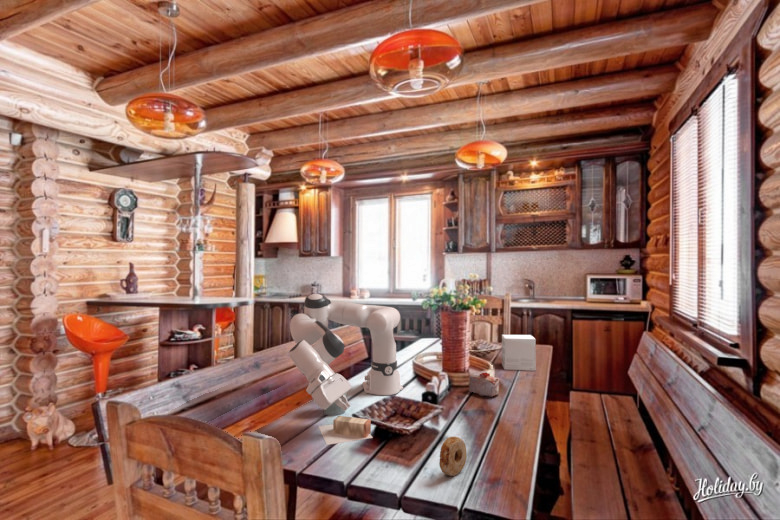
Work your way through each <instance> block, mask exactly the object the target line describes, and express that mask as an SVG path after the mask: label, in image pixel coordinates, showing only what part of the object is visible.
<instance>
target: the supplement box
mask: <svg viewBox="0 0 780 520" xmlns="http://www.w3.org/2000/svg"><path fill="white" fill-rule="evenodd" d="M536 341H537V339H536V338H535V337H534V336H533V335H532V334H501V366H502V367H503V369H504V370H508V371H510V370H511V371H529V372H531V371H533V372H534V371H536V370H537V366H536V364H537V357H536V355H537V354H536V353H537V351H536V347H537V345H536Z"/></svg>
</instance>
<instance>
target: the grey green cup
mask: <svg viewBox="0 0 780 520" xmlns="http://www.w3.org/2000/svg"><path fill="white" fill-rule="evenodd" d="M345 396H346V397H347V393H346V394H345ZM345 413H346V410H345V411H344V410H343V409H342V408H341V407H339V406H337V405H336V404H335V403H333V404H332V405H331V406H329V407H328V408H327V409H326V410H324V409H323V414H324V415H325V416H329V417H336V416H337V417H338V416H343V414H345Z"/></svg>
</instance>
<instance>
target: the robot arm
mask: <svg viewBox="0 0 780 520" xmlns="http://www.w3.org/2000/svg"><path fill="white" fill-rule="evenodd" d="M303 303H304V305H303V306H304V310H303V311H304V313H300V312H299V313H297V314H294V315H293V317H292V318H291V319H290V322H289V323H290V324H289V325H290V326H289V330H290V334H291V335H290V336H291V338H292V341H294V342H295V345H294V346H293V347H292V348H291V349H290V350H288V351H289V353H288V356H289V358H290V359H291V361H292V362H293V364H294V365H295V366H296V368H297V369H298V371H299V372H300V373H301V374H302V375H303V376H305V377H306V380H307V381H308V382H309V383H308V386H307V388H306V389H305V391H306V393H307V394H308V395H311V398H312V399H313V401H314V402H315V403H316V404H317V405H318V407H320V408H321V409H323V411H324V410H326V409H327V408H328V407H329V406H331V405H332V404H333V403H335V404H336V405H337V406H339V407H341V408H342V409H343V410H344V411H345V412H346V411H347V410H348V409H349V408H350V407H351V403H349V401H348V399H347V393H348V392H349V391H350V390H351V389H352V385H351V383H350V382H349V381H348V380H347V379H346V378H345V377H344V376H343V375H341V374H340V373H337V372H335V371H334V370H333V369H332V368H331V367H330V366H329V365H330V364H331V363H332V362H334V361H335V360H336V359H337V358H338V357H340V356H341V355H342V354H344V351H345V343H344V340H343V339H342V338H341V336H339V335H338V334H336V333H334V332H333V331H332V330H330V329H329V326H328V325H329V321H331V322H334V323H336V324H341V325H345V326H350V327H356V328H367V329H368V330H369V332H370V337H371V338H370V339H371V342H372V361H371V366H370V369H369V371H368V372H367V374H366V375H364V381H363V382H362V384H361V385H362V388H363V390H364V393H365V394H371V395H376V396H391V395H396V394H398V393H399V392H401V391H402V390H403V389H404V386H402V385H401V373H400V371H399V370H398V360H397V343H396V341H395V338H394V329H395V328H396V327H398V325H399V323H400V322H401V313H400V311H399V310H398V309H396V308H395V307H392V306H387V305H386V306H384V305H375V304H363V303H362V304H361V303H357V302H356V303H355V302H351V301H350V302H349V301H339V300H337V301H336V300H335V301H331V300H330V299H329V298H327V296H325V295H323V294H322V293H311V294H309V295H307V296H306V297H305V299H304V302H303ZM345 394H346V396H345Z"/></svg>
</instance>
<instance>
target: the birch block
mask: <svg viewBox="0 0 780 520" xmlns="http://www.w3.org/2000/svg"><path fill="white" fill-rule="evenodd" d="M371 422H372V421H371V419H370V418H369V419H368V418H361V417H353V416H351V417H350V416H346V415H345V416H344V415H338V416H337V417H335V418H334V419H333V433H336V434H344V435H351V436H359V437H367V436H368V435H369V434H371V433H372V430H371V429H372V426H371V425H372V423H371Z"/></svg>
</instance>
